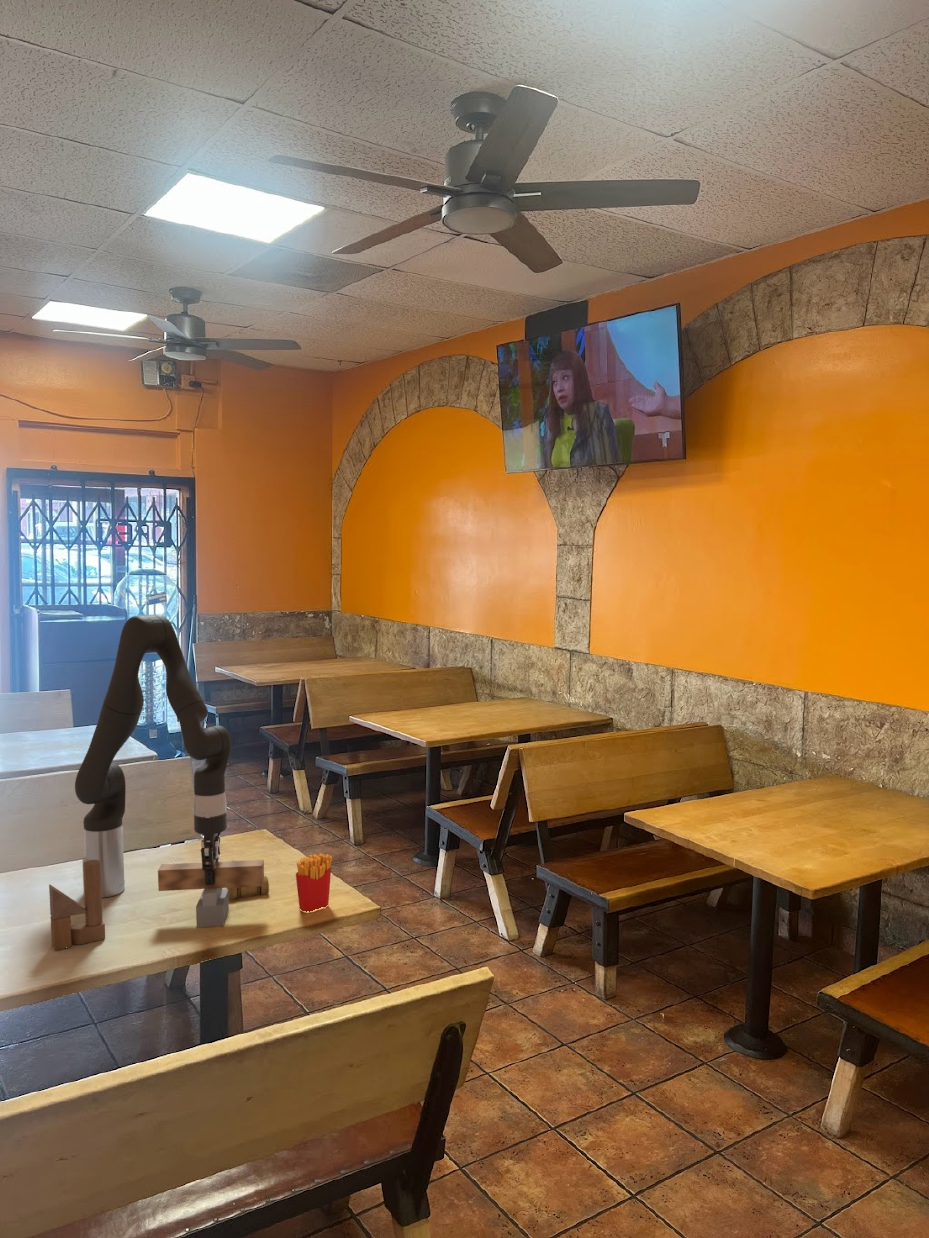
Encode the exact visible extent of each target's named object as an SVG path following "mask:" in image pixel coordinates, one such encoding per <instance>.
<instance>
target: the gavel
mask: <svg viewBox="0 0 929 1238" xmlns="http://www.w3.org/2000/svg"><path fill="white" fill-rule="evenodd" d="M269 884H270V883H269V879H268V877H267V876H266V875H264V882H263V886H253V887H232V888H226V889H228V898H229V900H236V899H237V898H243V897H245V898H246V897H250V896H252V897H253V896H256V895H260V896H263V895H269V892H270V885H269Z"/></svg>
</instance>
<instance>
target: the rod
mask: <svg viewBox="0 0 929 1238" xmlns="http://www.w3.org/2000/svg"><path fill="white" fill-rule="evenodd" d="M207 865H211V863H210V862H207ZM215 866H216V868H215V884H214V885H206V884H205V870H203V869H202V862H187V863H186V862H184V863H183V862H181V863H166V864H165V863H161V865H160V866H159V868H158V869H157V881H158V882H157V883H158V885H157V887H158V892H168V891H188V890H204V889H212V888H222V889H227V888H232V887H253V886H263V882H264V876H265V861H264V859H253V860H251V859H250V860H249V859H248V860H231V861H218V862H215Z"/></svg>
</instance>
